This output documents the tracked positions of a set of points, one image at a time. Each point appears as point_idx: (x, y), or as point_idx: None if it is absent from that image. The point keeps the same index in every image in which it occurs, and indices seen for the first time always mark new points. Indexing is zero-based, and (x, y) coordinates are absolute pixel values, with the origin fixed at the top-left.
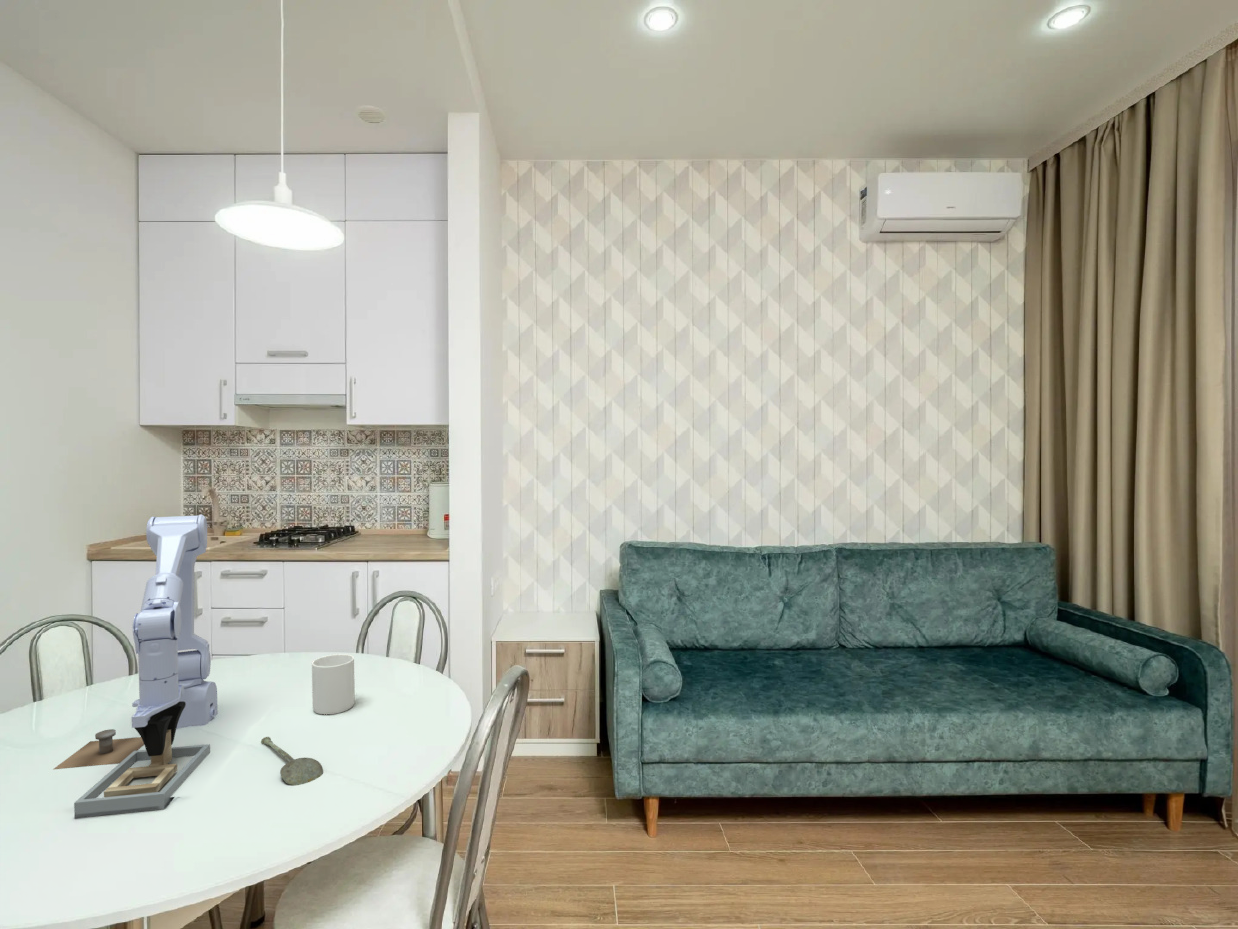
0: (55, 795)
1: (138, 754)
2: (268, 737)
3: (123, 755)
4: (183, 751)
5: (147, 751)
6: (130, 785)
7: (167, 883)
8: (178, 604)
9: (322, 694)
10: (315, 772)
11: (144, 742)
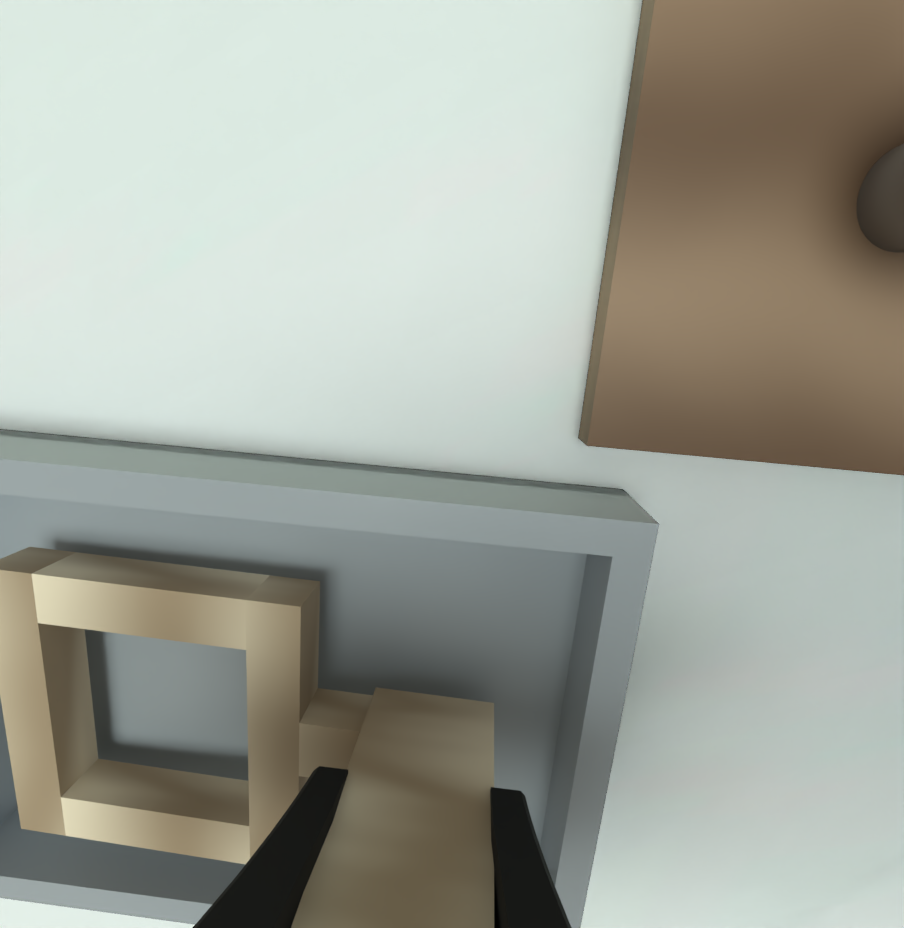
0: (268, 133)
1: (607, 559)
2: None
3: (741, 394)
4: (555, 826)
5: (292, 804)
6: (49, 695)
7: None
8: None
9: None
10: None
11: (217, 903)
